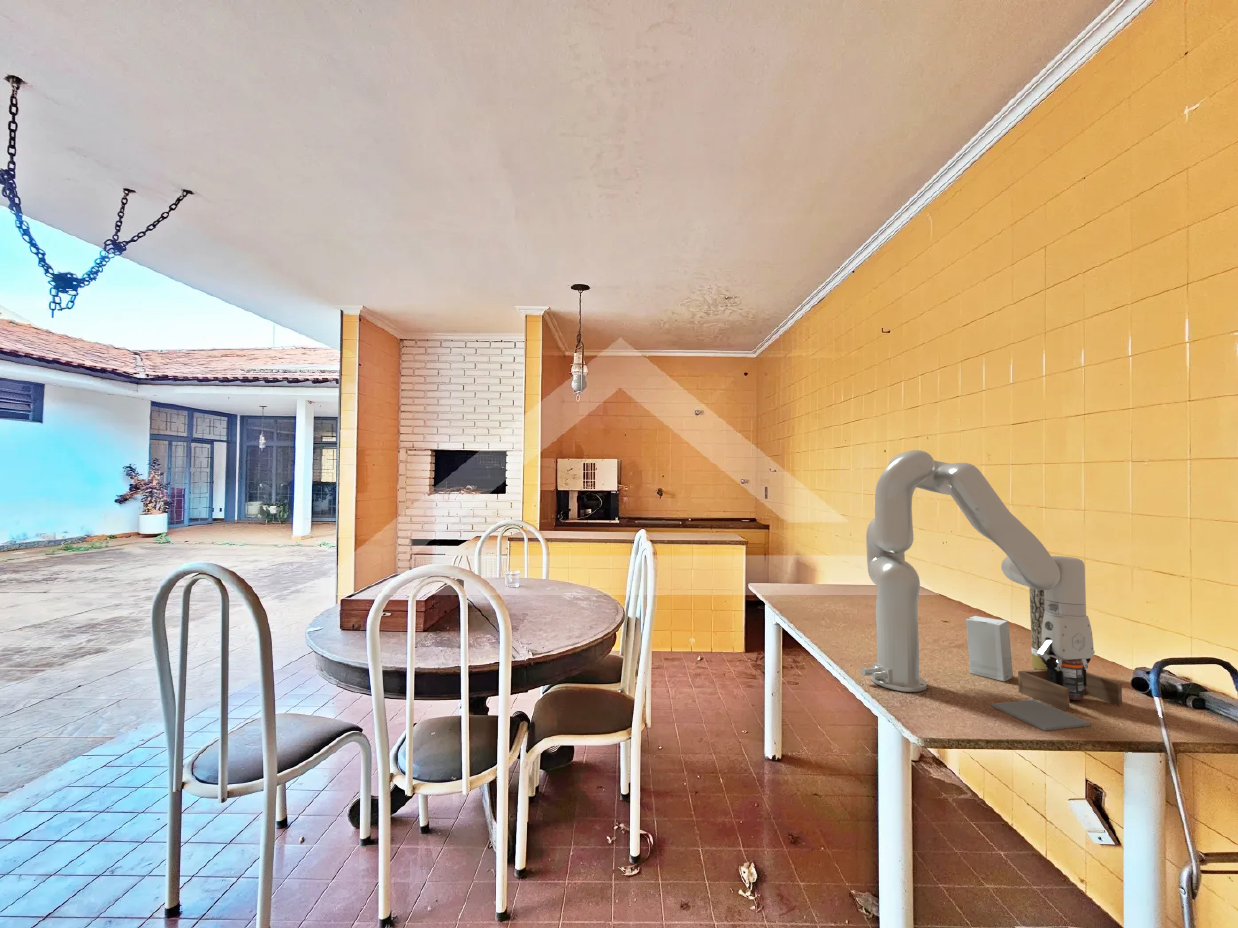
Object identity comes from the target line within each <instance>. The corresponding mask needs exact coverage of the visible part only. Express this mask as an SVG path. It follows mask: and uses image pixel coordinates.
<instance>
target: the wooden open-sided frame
mask: <svg viewBox="0 0 1238 928" xmlns="http://www.w3.org/2000/svg"><path fill="white" fill-rule="evenodd" d="M1017 677H1018V678H1017V680H1018V681H1017V683H1018V687H1017V688H1018V693H1020V694H1023V695H1025V696H1027V697H1030V698H1033V699H1034V700H1036V701H1039V702H1041V703H1043V704H1046V705H1048V706H1051V707H1053V708H1056V709H1058V710H1060V711H1063V712H1070V699H1069V688H1066V687H1064V686H1061V685H1058V684H1056V683H1053V682H1050V681H1048V677H1047V669H1039V670H1036V669H1029V670H1017ZM1086 682H1087V686H1084V695H1088V696H1090V697H1094V698H1097V699H1099V700H1102V701H1104V702H1108V703H1110V704H1113V705H1115V704H1116V705H1115V706H1118V707H1121V706H1120V705H1122V706H1123V691H1122V688H1123V687H1122V684H1123V683H1121V682H1118V681H1115V680H1112V679H1109V678H1106V677H1103V676H1099V675H1096V674H1094V673H1090V672H1088V671H1086Z"/></svg>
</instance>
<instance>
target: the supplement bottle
mask: <svg viewBox="0 0 1238 928" xmlns="http://www.w3.org/2000/svg"><path fill="white" fill-rule="evenodd" d="M1054 655H1055V653H1054ZM1055 656H1056V655H1055ZM1056 660H1057V659H1055V658H1053V661H1054V662H1055V663H1056ZM1060 671H1063V686H1064V687H1066V688H1069V700H1077V701H1078V700H1082V699H1084V698H1085V693H1084V676H1083V662H1082V660H1081V659H1079V660H1063V663H1062V666H1061V670H1060Z"/></svg>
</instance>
